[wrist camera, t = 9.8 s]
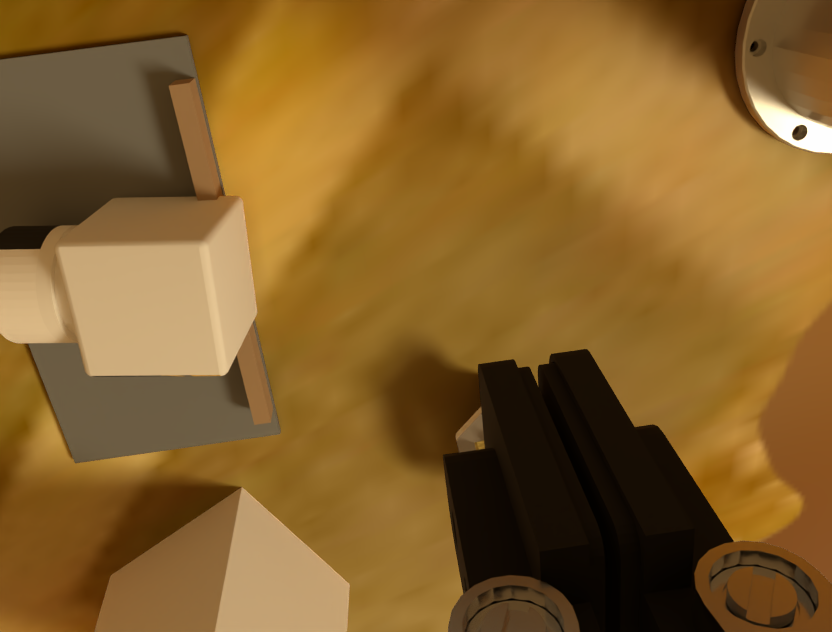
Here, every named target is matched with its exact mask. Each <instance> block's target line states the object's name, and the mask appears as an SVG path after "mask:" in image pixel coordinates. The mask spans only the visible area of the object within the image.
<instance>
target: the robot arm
mask: <svg viewBox="0 0 832 632" xmlns="http://www.w3.org/2000/svg"><path fill="white" fill-rule="evenodd" d="M753 42H754V47H753V48H752V50H750V47H751V44H752V43H753ZM735 65H736V78H737V81H738V85H739V89H740V93H741V96H742V99H743V101H744V102H745V104H746V106H747V108H748V110H749V112H750V114H751V116H752V117H753V118H754V119H755V120H756V121H757V123H758V124H759V125H760V126H761V127H762V128H763V129H764V130H765V131H766V132H768V133H769V134H770V135H772V136H773V137H775V138H776V139H777V140H779V141H781V142H783V143H785V144H787V145H789V146H792V147H794V148H797V149H801V150H804V151H808V152H811V153H821V154H832V0H747V1H746V3H745V6H744V9H743V13H742V16H741V20H740V23H739V26H738V31H737V39H736V47H735ZM794 128H795V129H794ZM793 129H794V131H793ZM792 131H793V132H792ZM478 377H479V388H480V400H481V411H482V422H483V434H484V445H485V449H480V450H473V451H466V452H459V453H452V454H445V455H443V461H444V470H445V479H446V487H447V495H448V503H449V511H450V518H451V524H452V531H453V537H454V543H455V549H456V555H457V560H458V566H459V571H460V577H461V582H462V588H463V595H462V596H461V597H460V598H459V600H458V602H457V603H456V605H455V606H454V608H453V609H452V612H451V617H450V621H449V626H448V632H832V584H831V583H830V582H829V581H828V580H827V579H826V578H825V576H823V574H821V572H820V571H818V570H817V569H816V568H815V567H814V566H812V565H811V564H810V563H809V562H807V561H806V560H805V559H803V558H802V557H800V556H798V555H796V554H794V553H792V552H790V551H788V550H786V549H784V548H781V547H778V546H774V545H770V544H767V543H763V542H752V541H738V542H734V541H733V540H732V538H731V536H730V535H729V533H728V532H727V530H726V529H725V527H724V526H723V524H722V523H721V521H720V520H719V518H718V516H717V515H716V513H715V512H714V510H713V509H712V507H711V506H710V504H709V503H708V501H707V500H706V498H705V496H704V495H703V493H702V492H701V490H700V489H699V487H698V486H697V484H696V483H695V481H694V480H693V478H692V476H691V475H690V473H689V472H688V470H687V469H686V467H685V466H684V464H683V463H682V461H681V460H680V458H679V456H678V455H677V453H676V452H675V450H674V449H673V447H672V446H671V444H670V443H669V441H668V440H667V438H666V436H665V435H664V433H663V432H662V431H661V430H660V428H659V427H658V426H655V425H647V426H640V427H634V425H633V424H632V422H631V420H630V419H629V417H628V415H627V414H626V412H625V410H624V409H623V407H622V405H621V404H620V402H619V400H618V399H617V397H616V395H615V394H614V392H613V390H612V389H611V387H610V385H609V384H608V382H607V380H606V379H605V377H604V375H603V374H602V372H601V370H600V369H599V367H598V365H597V364H596V362H595V360H594V359H593V357H592V355H591V354H590V352H589V351H588V350H587V349H583V350H576V351H569V352H562V353H555V354H551V355H550V359H549V364H543V365H539V366H538V385H537V383H536V381H535V379H534V376H533V374H532V372H531V369H530V368H529V367H522V368H518V367H517V365H516V362H515V360H513V359H512V360H505V361H498V362H491V363H484V364H479V365H478ZM538 387H539V388H538Z"/></svg>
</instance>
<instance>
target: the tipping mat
mask: <svg viewBox="0 0 832 632" xmlns="http://www.w3.org/2000/svg"><path fill="white" fill-rule="evenodd" d="M195 196H197V200H198V201H202V200H217V199H218V197H219V196H225V192H224V188H223V183H222V179H221V175H220V171H219V166H218V162H217V158H216V154H215V149H214V145H213V141H212V137H211V132H210V128H209V124H208V120H207V115H206V111H205V107H204V103H203V98H202V94H201V90H200V86H199V81H198V77H197V73H196V69H195V64H194V60H193V56H192V52H191V47H190V43H189V39H188V35H184V36H177V37H169V38H161V39H153V40H145V41H138V42H130V43H122V44H114V45H107V46H99V47H91V48H83V49H75V50H68V51H60V52H52V53H44V54H37V55H29V56H21V57H13V58H5V59H0V233H1V232H2V231H3V230H4V229H6V228H8V227H12V226H55V225H79V224H81V223H82V222H83V221H85V220H86V219H87V218H88V217H90V216H91V215H92V214H93V213H95V212H96V211H97V210H99V209H100V208H101V207H102V206H104V205H105V204H106V203H108V202H109V201H110V200H111V199H113V198H129V197H195ZM28 345H29V347H30V350H31V352H32V355H33V357H34V360H35V363H36V365H37V368H38V370H39V373H40V375H41V378H42V380H43V383H44V385H45V388H46V390H47V393H48V396H49V398H50V401H51V403H52V406H53V408H54V411H55V413H56V416H57V418H58V421H59V423H60V426H61V429H62V431H63V434H64V436H65V439H66V441H67V444H68V446H69V449H70V451H71V454H72V456H73V459H74V462H75V463H80V462H87V461H94V460H101V459H108V458H115V457H122V456H129V455H137V454H144V453H151V452H158V451H165V450H172V449H179V448H186V447H193V446H200V445H207V444H214V443H221V442H228V441H235V440H242V439H249V438H256V437H263V436H270V435H277V434H280V431H281V430H280V426H279V421H278V417H277V413H276V409H275V404H274V400H273V396H272V392H271V387H270V383H269V379H268V375H267V370H266V366H265V362H264V358H263V353H262V349H261V345H260V341H259V336H258V332H257V328H256V324H255V319H254V321H253V323H252V325H251V327H250V329H249V331H248V333H247V335H246V337H245V339H244V341H243V343H242V345H241V347H240V349H239V351H238V353H237V355H236V357H235V359H234V361H233V363H232V365H231V367H230V369H229V371H228V372H227V373H226V374H225V375H223V376H143V377H92V376H89V375H87V373H86V372H85V369H84V365H83V361H82V357H81V353H80V349H79V345H78V343H28Z"/></svg>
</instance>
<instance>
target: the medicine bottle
mask: <svg viewBox="0 0 832 632" xmlns="http://www.w3.org/2000/svg"><path fill="white" fill-rule="evenodd" d="M256 315H257V306H256V299H255V291H254V283H253V276H252V268H251V261H250V253H249V245H248V238H247V230H246V223H245V215H244V207H243V201H242V199H241V198H240V197H238V196H219V197H218V199H217V200H202V201H198V200H197V196H195V197H129V198H113V199H111V200H110V201H109V202H108V203H106V204H105V205H104V206H102V207H101V208H100V209H99V210H97V211H96V212H95V213H93V214H92V215H91V216H90V217H88V218H87V219H86V220H85V221H83V222H82V223H81V224H79V225H55V226H12V227H8V228H6V229H4V230H3V231H2V232H1V233H0V334H2V335H3V336H4V337H5V338H6V339H8V340H9V341H11V342H14V343H78V345H79V349H80V353H81V357H82V361H83V365H84V369H85V372H86V373H87V375H89V376H92V377H143V376H223V375H225V374H226V373H227V372H228V371H229V369H230V367H231V365H232V363H233V361H234V359H235V357H236V355H237V353H238V351H239V349H240V347H241V345H242V343H243V341H244V339H245V337H246V335H247V333H248V331H249V329H250V327H251V325H252V323H253V321H254V319H255V317H256Z"/></svg>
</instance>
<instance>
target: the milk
mask: <svg viewBox="0 0 832 632" xmlns="http://www.w3.org/2000/svg"><path fill="white" fill-rule="evenodd" d="M349 588H350V584H349V583H348V582H347V581H346V580H344V579H343V578H342V577H341V576H340V575H339V574H338V573H337V572H336V571H334V570H333V569H332V568H331V567H330V566H329V565H328V564H327V563H326V562H324V561H323V560H322V559H321V558H320V557H319V556H318V555H317V554H316V553H314V552H313V551H312V550H311V549H310V548H309V547H308V546H307V545H306V544H305V543H303V542H302V541H301V540H300V539H299V538H298V537H297V536H296V535H295V534H293V533H292V532H291V531H290V530H289V529H288V528H287V527H286V526H285V525H283V524H282V523H281V522H280V521H279V520H278V519H277V518H276V517H275V516H273V515H272V514H271V513H270V512H269V511H268V510H267V509H266V508H265V507H264V506H262V505H261V504H260V503H259V502H258V501H257V500H256V499H255V498H254V497H252V496H251V495H250V494H249V493H248V492H247V491H246V490H245V489H244V488H242V487H241V488H240V489H238V490H237V491H235V492H234V493H232V494H231V495H229V496H228V497H226V498H225V499H223V500H222V501H220V502H219V503H217V504H216V505H214V506H213V507H211V508H210V509H208V510H207V511H205V512H204V513H202V514H201V515H200V516H198V517H197V518H195V519H194V520H192V521H191V522H189V523H188V524H186V525H185V526H183V527H182V528H180V529H179V530H177V531H176V532H174V533H173V534H171V535H170V536H168V537H167V538H165V539H164V540H162V541H161V542H159V543H158V544H156V545H155V546H153V547H152V548H151V549H149V550H148V551H146V552H145V553H143V554H142V555H140V556H139V557H137V558H136V559H134V560H133V561H131V562H130V563H128V564H127V565H125V566H124V567H122V568H121V569H119V570H118V571H116V572H115V573H113V574H112V575H111V576H110V579H109V583H108V586H107V590H106V593H105V596H104V600H103V603H102V607H101V610H100V614H99V617H98V620H97V624H96V627H95V631H94V632H347V622H348V605H349Z"/></svg>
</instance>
